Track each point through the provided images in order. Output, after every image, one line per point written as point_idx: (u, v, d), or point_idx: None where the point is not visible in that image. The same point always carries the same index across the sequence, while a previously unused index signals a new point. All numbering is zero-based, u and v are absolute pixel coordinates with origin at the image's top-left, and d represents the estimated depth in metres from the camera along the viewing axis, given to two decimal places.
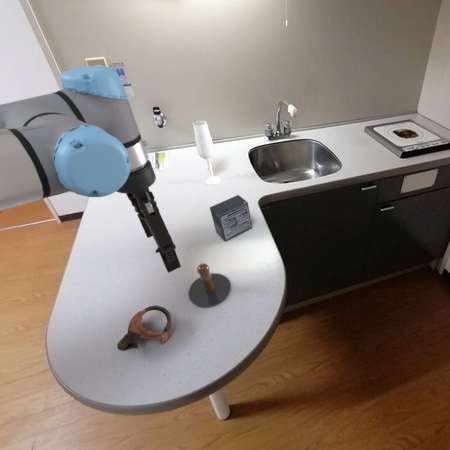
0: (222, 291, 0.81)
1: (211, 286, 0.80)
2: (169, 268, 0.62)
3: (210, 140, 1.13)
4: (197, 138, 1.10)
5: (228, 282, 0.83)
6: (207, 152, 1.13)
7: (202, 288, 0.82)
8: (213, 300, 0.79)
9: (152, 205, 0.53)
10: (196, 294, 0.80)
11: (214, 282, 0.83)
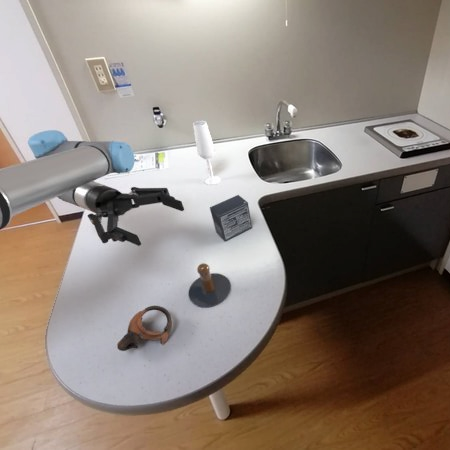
0: (222, 291, 0.81)
1: (211, 286, 0.80)
2: None
3: (210, 140, 1.13)
4: (197, 138, 1.10)
5: (228, 282, 0.83)
6: (207, 152, 1.13)
7: (202, 288, 0.82)
8: (213, 300, 0.79)
9: None
10: (196, 294, 0.80)
11: (214, 282, 0.83)
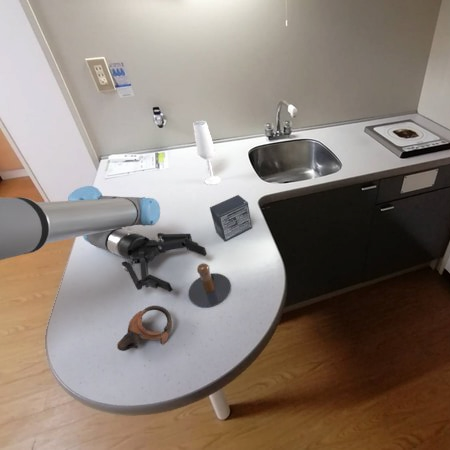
0: (222, 291, 0.81)
1: (211, 286, 0.80)
2: None
3: (210, 140, 1.13)
4: (197, 138, 1.10)
5: (228, 282, 0.83)
6: (207, 152, 1.13)
7: (202, 288, 0.82)
8: (213, 300, 0.79)
9: None
10: (196, 294, 0.80)
11: (214, 282, 0.83)
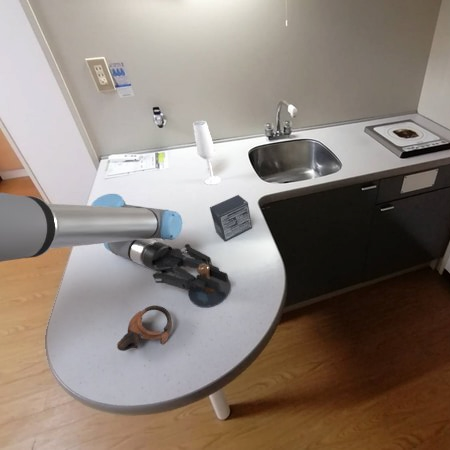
0: (222, 291, 0.81)
1: None
2: None
3: (210, 140, 1.13)
4: (197, 138, 1.10)
5: (228, 282, 0.83)
6: (207, 152, 1.13)
7: (202, 288, 0.82)
8: (213, 300, 0.79)
9: None
10: (195, 294, 0.80)
11: None
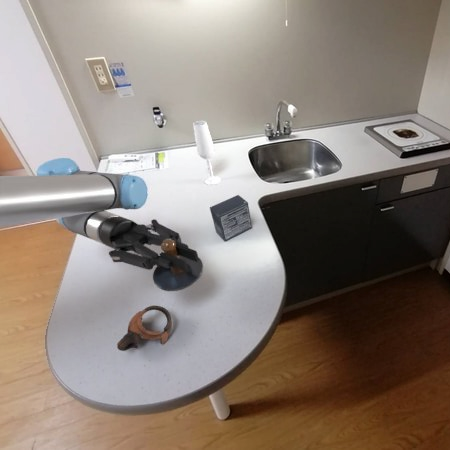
0: (192, 273, 0.69)
1: None
2: None
3: (210, 140, 1.13)
4: (197, 138, 1.10)
5: (200, 263, 0.72)
6: (207, 152, 1.13)
7: (169, 269, 0.70)
8: (180, 283, 0.67)
9: None
10: (161, 275, 0.69)
11: None
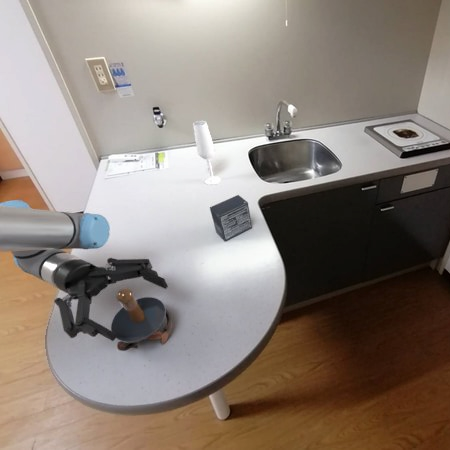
0: (153, 321, 0.66)
1: (138, 315, 0.65)
2: None
3: (210, 140, 1.13)
4: (197, 138, 1.10)
5: (163, 309, 0.68)
6: (207, 152, 1.13)
7: (130, 317, 0.67)
8: (139, 333, 0.64)
9: None
10: (120, 324, 0.65)
11: (146, 309, 0.68)
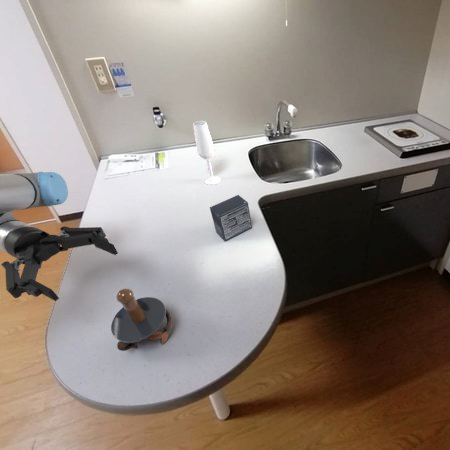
0: (153, 321, 0.66)
1: (138, 315, 0.65)
2: None
3: (210, 140, 1.13)
4: (197, 138, 1.10)
5: (163, 309, 0.68)
6: (207, 152, 1.13)
7: (130, 317, 0.67)
8: (139, 333, 0.64)
9: None
10: (120, 324, 0.65)
11: (146, 309, 0.68)
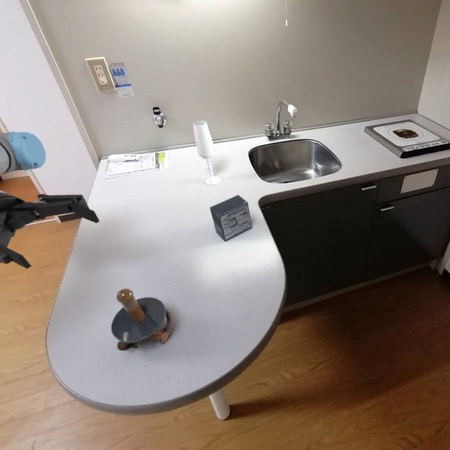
0: (153, 321, 0.66)
1: (138, 315, 0.65)
2: None
3: (210, 140, 1.13)
4: (197, 138, 1.10)
5: (163, 309, 0.68)
6: (207, 152, 1.13)
7: (130, 317, 0.67)
8: (139, 333, 0.64)
9: None
10: (120, 324, 0.65)
11: (146, 309, 0.68)
